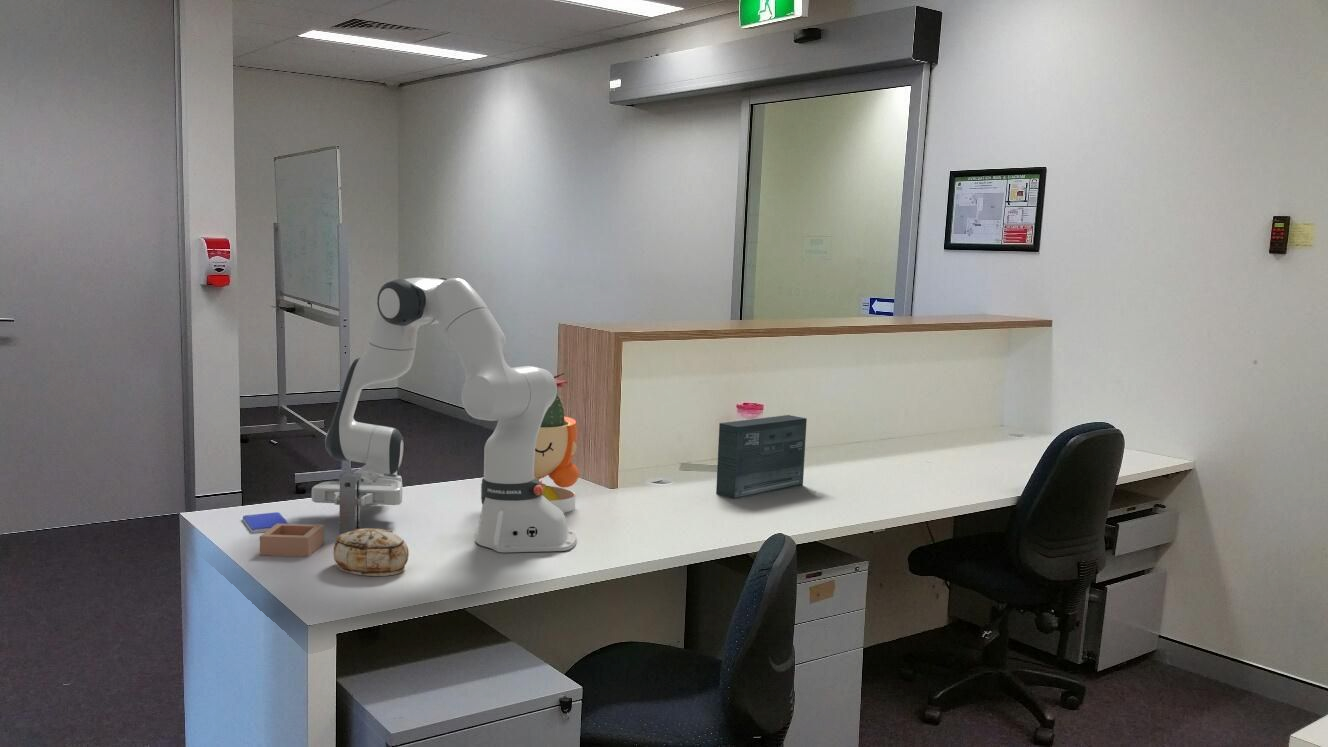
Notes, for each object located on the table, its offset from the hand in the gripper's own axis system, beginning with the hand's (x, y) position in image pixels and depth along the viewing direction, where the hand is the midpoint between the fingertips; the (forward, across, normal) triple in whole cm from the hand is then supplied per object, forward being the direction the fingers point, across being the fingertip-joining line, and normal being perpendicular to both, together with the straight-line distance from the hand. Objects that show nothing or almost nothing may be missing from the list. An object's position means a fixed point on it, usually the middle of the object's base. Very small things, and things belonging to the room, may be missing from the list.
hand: (348, 501), depth 223 cm
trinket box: (+24, +11, +8) cm, 28 cm away
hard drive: (-5, -20, +8) cm, 22 cm away
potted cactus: (-33, +39, +8) cm, 52 cm away
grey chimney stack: (-1, 0, +7) cm, 7 cm away
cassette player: (-57, +100, +8) cm, 115 cm away
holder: (+13, -8, +7) cm, 17 cm away
